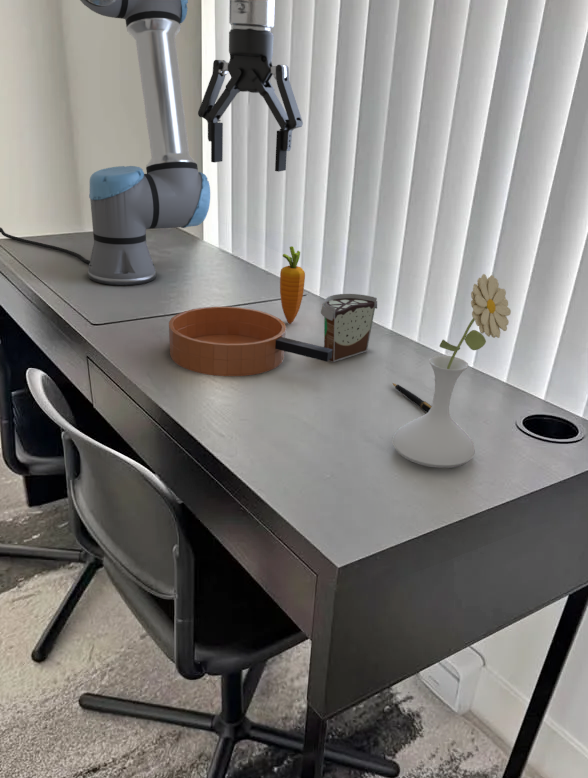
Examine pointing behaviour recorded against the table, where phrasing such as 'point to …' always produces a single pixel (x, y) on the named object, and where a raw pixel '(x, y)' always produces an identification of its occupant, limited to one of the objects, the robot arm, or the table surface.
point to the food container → (347, 324)
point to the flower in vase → (436, 428)
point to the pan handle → (304, 349)
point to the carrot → (291, 286)
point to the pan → (226, 341)
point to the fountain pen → (414, 398)
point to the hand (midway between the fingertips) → (248, 166)
